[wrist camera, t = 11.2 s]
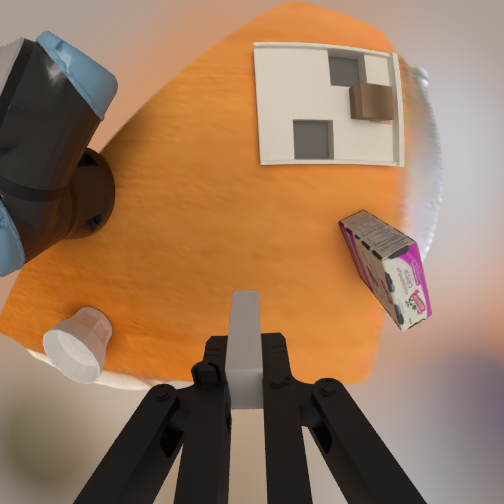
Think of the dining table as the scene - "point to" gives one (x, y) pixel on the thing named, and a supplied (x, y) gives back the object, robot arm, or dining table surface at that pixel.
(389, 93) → the block
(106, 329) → the cup
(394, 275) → the candy bar box
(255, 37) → the dining table surface
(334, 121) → the tray
